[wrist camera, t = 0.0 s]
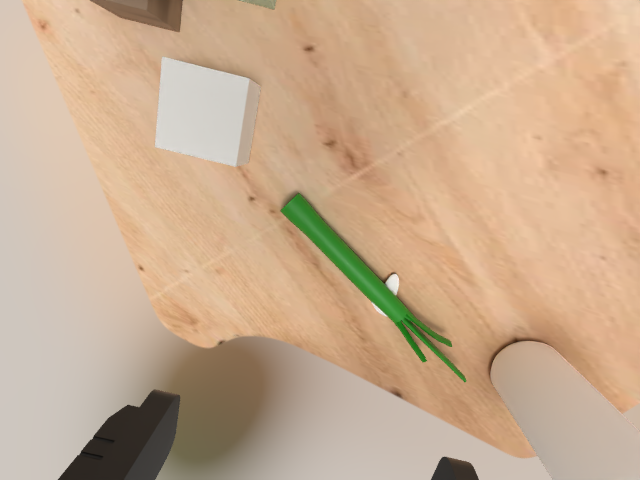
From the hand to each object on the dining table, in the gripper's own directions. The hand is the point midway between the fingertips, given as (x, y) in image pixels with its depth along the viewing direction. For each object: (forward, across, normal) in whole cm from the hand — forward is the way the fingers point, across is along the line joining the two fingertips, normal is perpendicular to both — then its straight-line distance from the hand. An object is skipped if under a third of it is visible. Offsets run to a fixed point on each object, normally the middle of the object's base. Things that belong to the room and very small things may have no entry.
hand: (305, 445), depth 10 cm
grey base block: (+30, +14, -8) cm, 34 cm away
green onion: (+30, -8, +7) cm, 32 cm away
